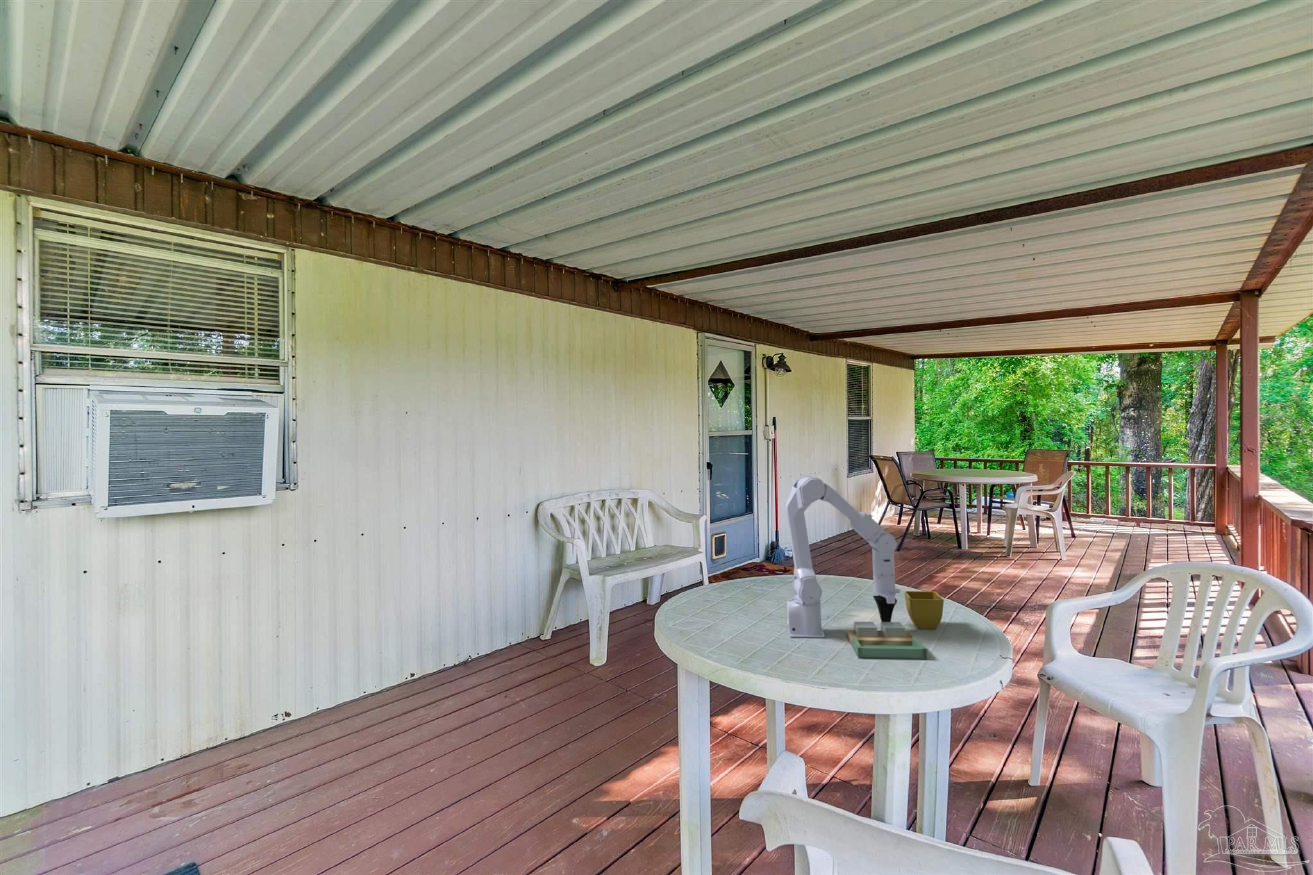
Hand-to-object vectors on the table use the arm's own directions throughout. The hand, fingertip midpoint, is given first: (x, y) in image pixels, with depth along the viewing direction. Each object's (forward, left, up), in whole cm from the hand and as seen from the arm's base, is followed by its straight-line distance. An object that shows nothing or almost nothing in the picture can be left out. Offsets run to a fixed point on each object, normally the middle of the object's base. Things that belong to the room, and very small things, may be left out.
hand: (885, 622), depth 161 cm
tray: (-3, -17, -2) cm, 17 cm away
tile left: (-7, -7, -1) cm, 10 cm away
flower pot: (+12, +5, -3) cm, 13 cm away
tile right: (0, -7, -1) cm, 8 cm away
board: (-3, -8, -2) cm, 10 cm away
